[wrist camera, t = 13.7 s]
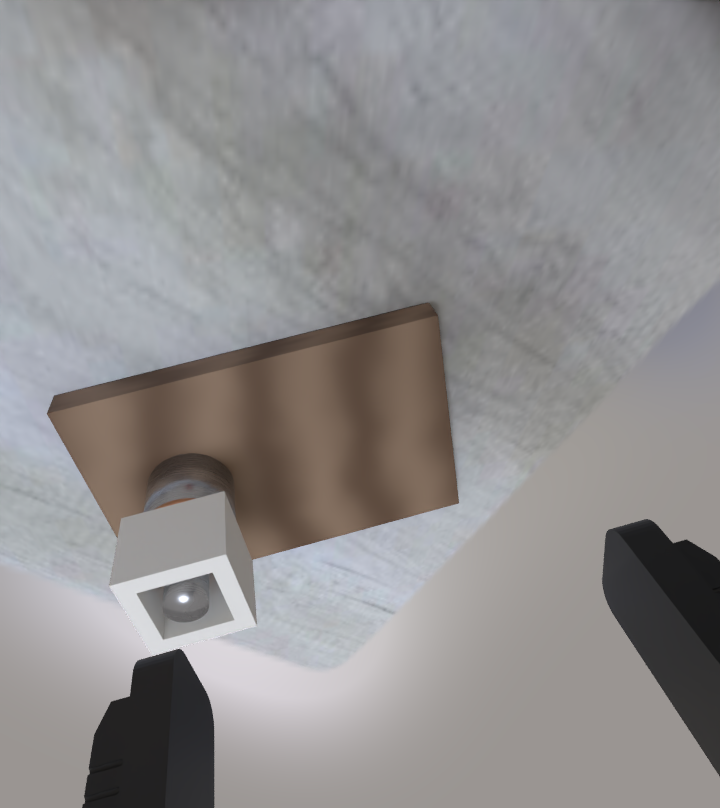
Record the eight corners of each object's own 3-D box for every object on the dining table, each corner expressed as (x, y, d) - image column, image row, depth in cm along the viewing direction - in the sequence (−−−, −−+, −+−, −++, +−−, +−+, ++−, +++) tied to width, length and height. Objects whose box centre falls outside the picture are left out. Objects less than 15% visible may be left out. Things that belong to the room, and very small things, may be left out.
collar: (224, 491, 36) (226, 554, 32) (252, 560, 39) (256, 626, 35) (121, 518, 35) (108, 586, 31) (158, 586, 39) (151, 655, 35)
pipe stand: (428, 302, 40) (500, 401, 30) (450, 486, 49) (511, 608, 39) (54, 395, 38) (-2, 532, 28) (148, 568, 47) (131, 718, 37)
